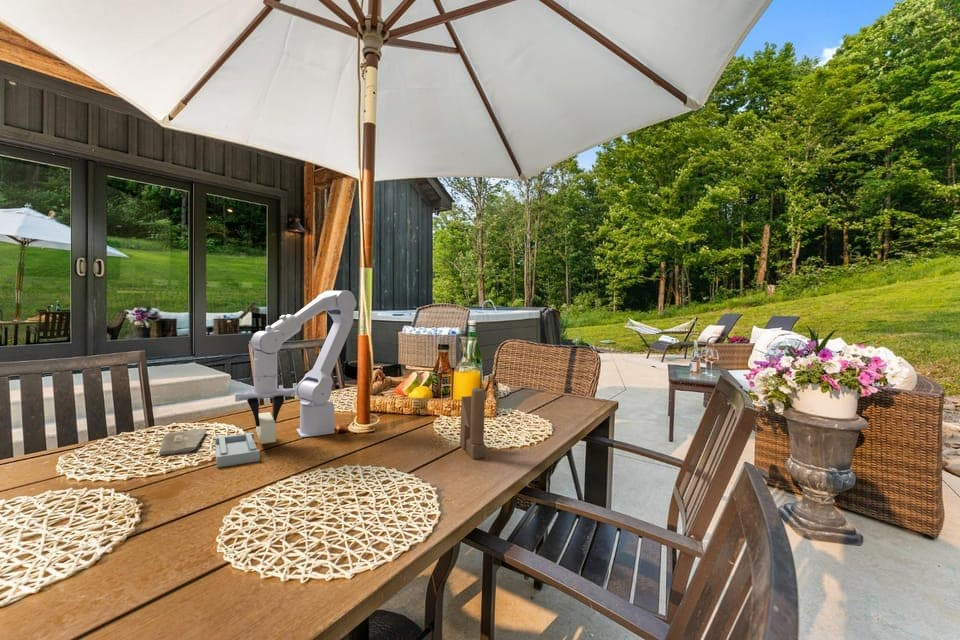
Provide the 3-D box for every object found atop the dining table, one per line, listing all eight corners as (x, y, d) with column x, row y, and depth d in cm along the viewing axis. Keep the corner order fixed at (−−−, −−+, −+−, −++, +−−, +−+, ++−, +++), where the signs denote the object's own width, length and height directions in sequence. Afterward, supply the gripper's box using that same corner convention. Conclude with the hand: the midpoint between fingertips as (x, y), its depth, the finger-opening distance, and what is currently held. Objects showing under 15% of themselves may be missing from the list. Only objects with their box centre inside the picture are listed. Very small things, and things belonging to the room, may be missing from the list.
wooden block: (471, 444, 123) (473, 382, 122) (485, 458, 113) (487, 390, 112) (459, 446, 122) (461, 383, 121) (472, 459, 112) (474, 391, 111)
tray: (253, 441, 119) (253, 430, 119) (259, 460, 106) (259, 448, 106) (215, 446, 114) (215, 435, 114) (217, 467, 101) (217, 455, 101)
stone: (165, 433, 122) (207, 425, 127) (166, 443, 122) (208, 434, 127) (153, 449, 106) (201, 439, 110) (155, 460, 106) (202, 450, 111)
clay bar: (256, 430, 121) (256, 413, 121) (269, 429, 123) (270, 412, 123) (260, 443, 111) (261, 424, 111) (275, 441, 113) (276, 423, 113)
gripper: (236, 380, 109) (236, 432, 110) (297, 375, 117) (296, 424, 118) (234, 375, 115) (234, 425, 116) (292, 371, 123) (292, 418, 124)
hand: (265, 424), depth 117 cm, fingers closed on clay bar, 3 cm apart
